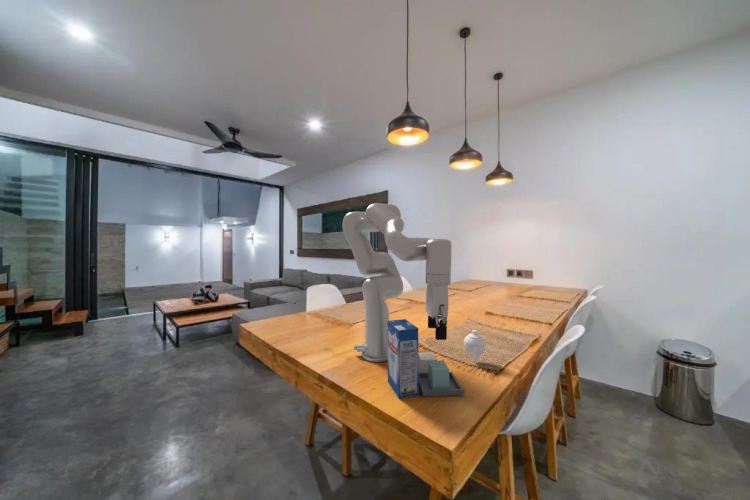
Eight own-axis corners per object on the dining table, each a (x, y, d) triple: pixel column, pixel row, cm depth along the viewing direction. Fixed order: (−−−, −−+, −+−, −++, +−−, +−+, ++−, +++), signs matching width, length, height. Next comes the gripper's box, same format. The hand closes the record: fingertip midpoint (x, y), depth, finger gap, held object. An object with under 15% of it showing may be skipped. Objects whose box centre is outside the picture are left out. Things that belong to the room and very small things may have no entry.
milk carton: (418, 395, 80) (418, 328, 79) (399, 399, 78) (398, 330, 77) (405, 378, 89) (405, 318, 89) (387, 381, 88) (387, 320, 87)
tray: (422, 397, 79) (422, 391, 79) (415, 378, 90) (415, 372, 90) (463, 396, 79) (463, 390, 79) (451, 377, 90) (451, 371, 90)
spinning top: (461, 357, 105) (461, 327, 105) (481, 357, 105) (481, 327, 104) (467, 366, 97) (467, 333, 97) (489, 367, 97) (489, 334, 97)
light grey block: (414, 373, 93) (414, 359, 93) (411, 365, 99) (411, 352, 99) (440, 372, 93) (440, 359, 93) (436, 364, 99) (436, 352, 99)
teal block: (432, 391, 81) (432, 369, 81) (428, 380, 87) (428, 360, 87) (449, 390, 81) (449, 369, 81) (443, 380, 87) (443, 360, 87)
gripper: (420, 274, 92) (419, 324, 93) (432, 284, 75) (431, 344, 76) (442, 274, 92) (440, 324, 93) (459, 284, 75) (457, 344, 76)
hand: (436, 333), depth 84 cm, fingers open, 9 cm apart
